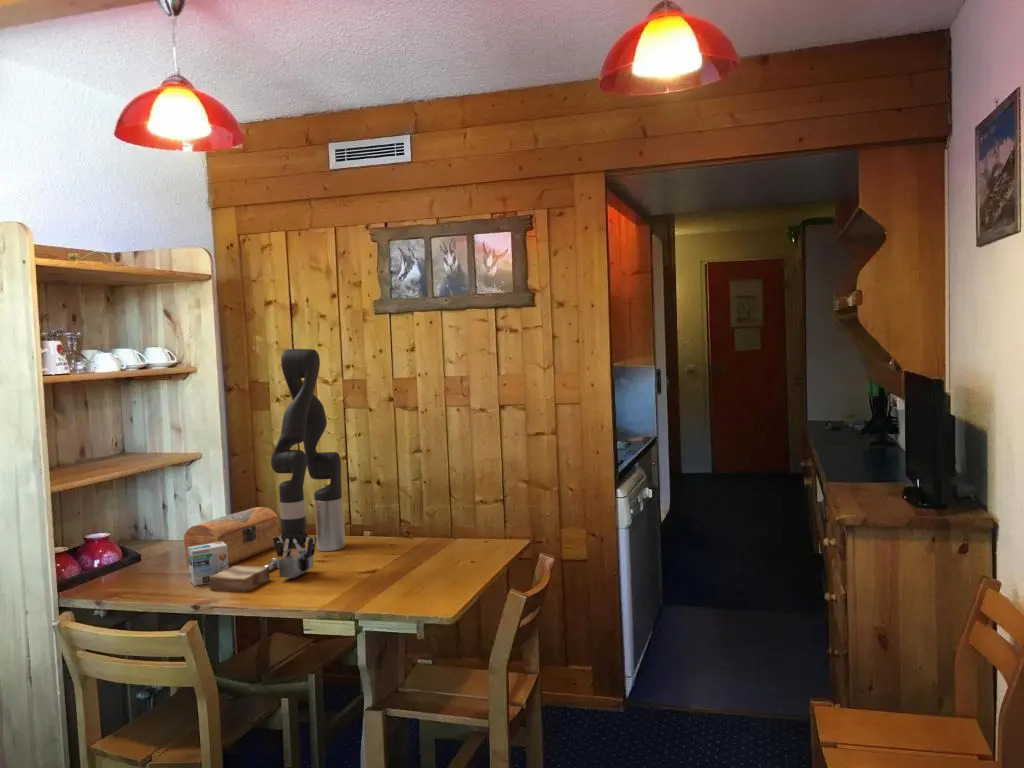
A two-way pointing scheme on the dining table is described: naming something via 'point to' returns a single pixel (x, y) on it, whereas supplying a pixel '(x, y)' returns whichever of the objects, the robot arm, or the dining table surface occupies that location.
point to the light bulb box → (207, 561)
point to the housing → (292, 565)
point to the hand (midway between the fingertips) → (296, 570)
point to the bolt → (273, 564)
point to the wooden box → (237, 533)
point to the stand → (239, 578)
